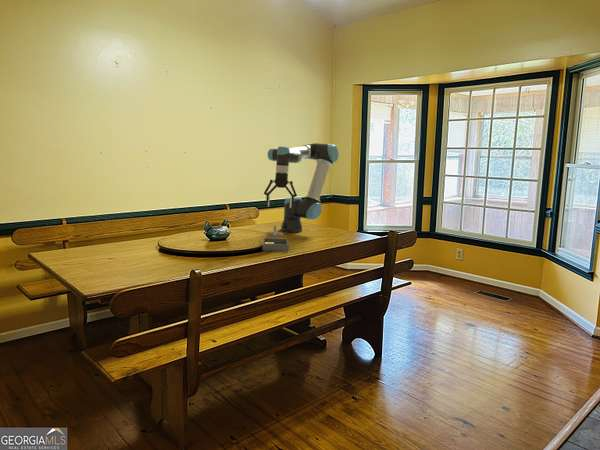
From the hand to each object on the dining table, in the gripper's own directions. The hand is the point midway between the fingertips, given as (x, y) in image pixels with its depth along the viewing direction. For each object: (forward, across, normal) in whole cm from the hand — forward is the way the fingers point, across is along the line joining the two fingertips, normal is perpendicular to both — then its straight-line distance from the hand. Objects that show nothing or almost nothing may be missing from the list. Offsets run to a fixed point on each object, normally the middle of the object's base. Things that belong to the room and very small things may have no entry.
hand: (279, 206), depth 274 cm
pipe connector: (+22, -2, +1) cm, 22 cm away
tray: (+22, -2, -15) cm, 27 cm away
